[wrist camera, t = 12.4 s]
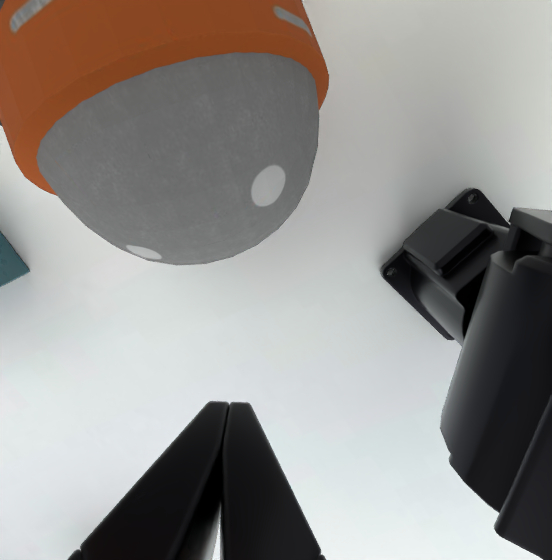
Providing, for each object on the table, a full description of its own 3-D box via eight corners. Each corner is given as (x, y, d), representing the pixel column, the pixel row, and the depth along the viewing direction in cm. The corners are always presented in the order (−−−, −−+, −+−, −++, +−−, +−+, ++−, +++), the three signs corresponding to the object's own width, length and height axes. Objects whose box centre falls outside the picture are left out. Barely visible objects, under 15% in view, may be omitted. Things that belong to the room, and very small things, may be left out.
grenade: (331, 229, 18) (229, -52, 18) (438, 161, 8) (197, -515, 7) (124, 305, 17) (13, 13, 17) (-63, 341, 7) (-351, -399, 7)
